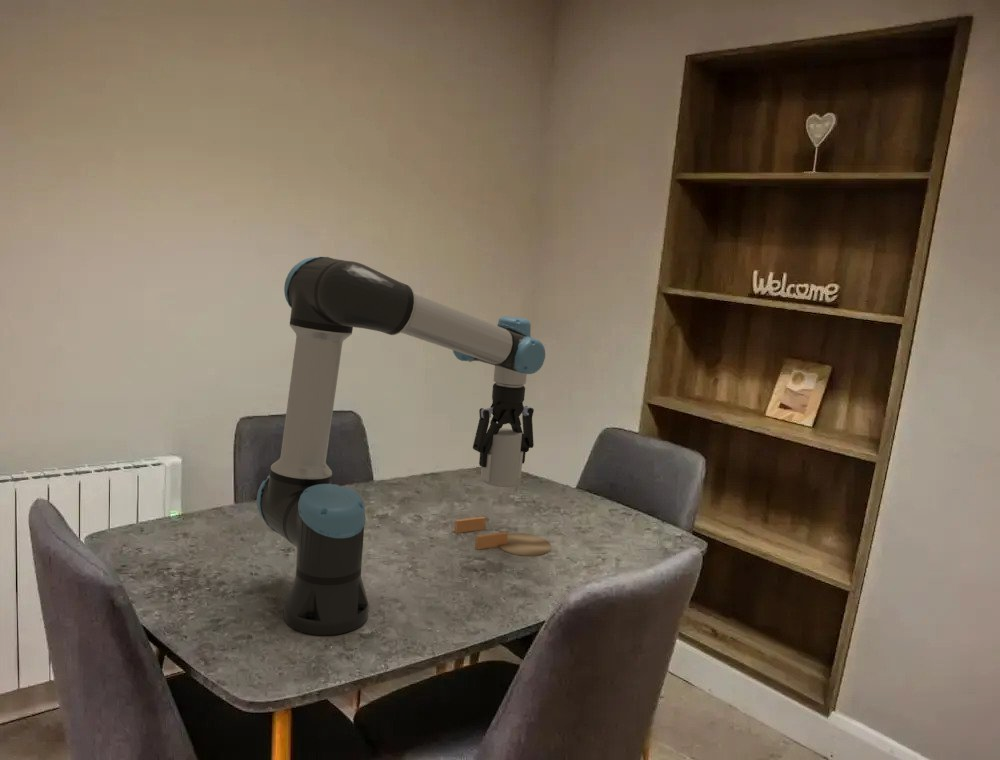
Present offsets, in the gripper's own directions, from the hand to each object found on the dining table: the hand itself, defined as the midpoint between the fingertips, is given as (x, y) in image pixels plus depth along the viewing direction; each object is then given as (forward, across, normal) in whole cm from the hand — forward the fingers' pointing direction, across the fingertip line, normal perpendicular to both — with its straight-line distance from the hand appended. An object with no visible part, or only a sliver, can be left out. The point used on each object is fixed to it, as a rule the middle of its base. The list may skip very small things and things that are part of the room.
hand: (500, 478), depth 184 cm
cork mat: (+16, -5, +5) cm, 17 cm away
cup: (+1, 0, 0) cm, 1 cm away
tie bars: (+16, +3, -2) cm, 16 cm away
